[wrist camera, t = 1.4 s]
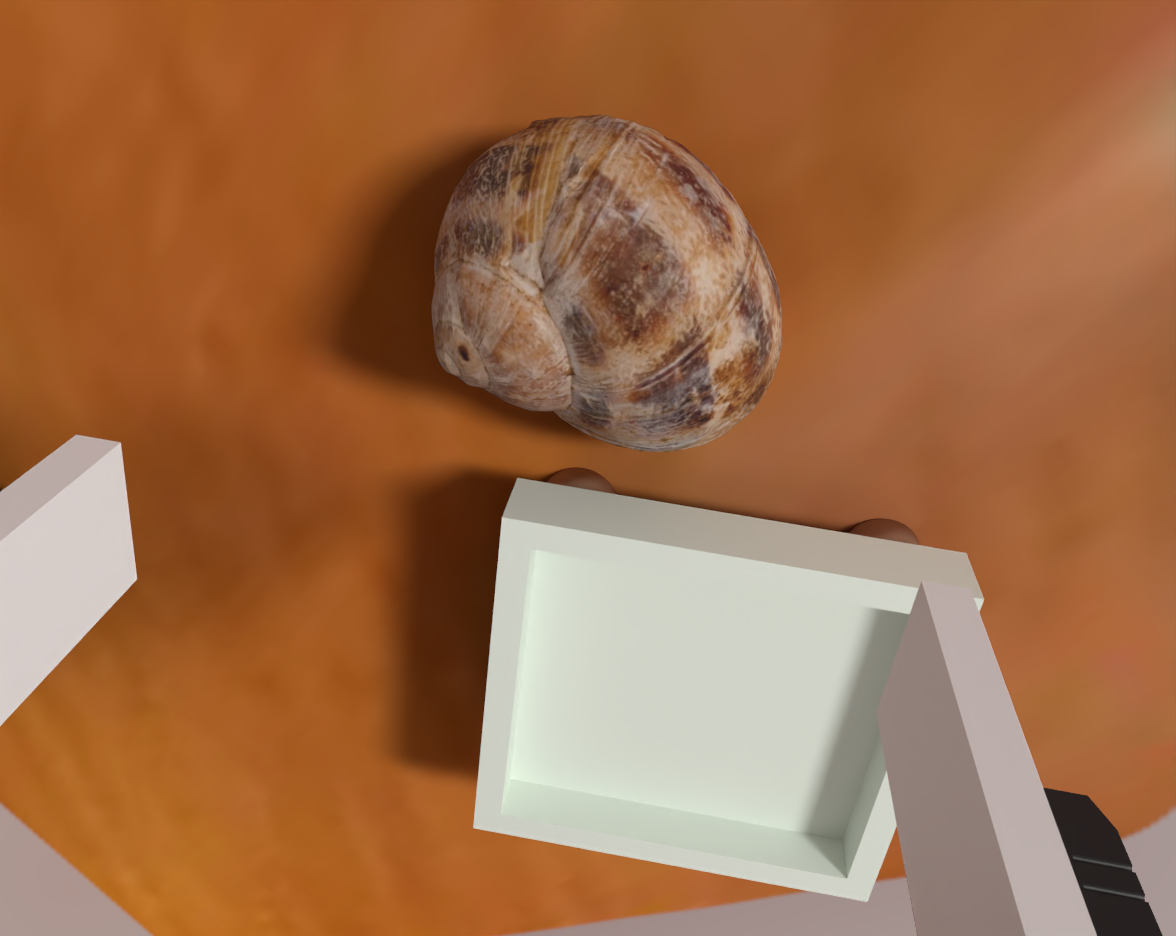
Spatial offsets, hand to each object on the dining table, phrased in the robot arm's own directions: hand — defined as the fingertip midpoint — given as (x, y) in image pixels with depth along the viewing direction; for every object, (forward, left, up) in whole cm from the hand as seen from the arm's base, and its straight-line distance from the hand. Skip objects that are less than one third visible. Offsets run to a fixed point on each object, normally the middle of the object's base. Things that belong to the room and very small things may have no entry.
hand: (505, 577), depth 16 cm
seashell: (0, -1, -18) cm, 18 cm away
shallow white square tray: (+5, -14, -18) cm, 23 cm away
